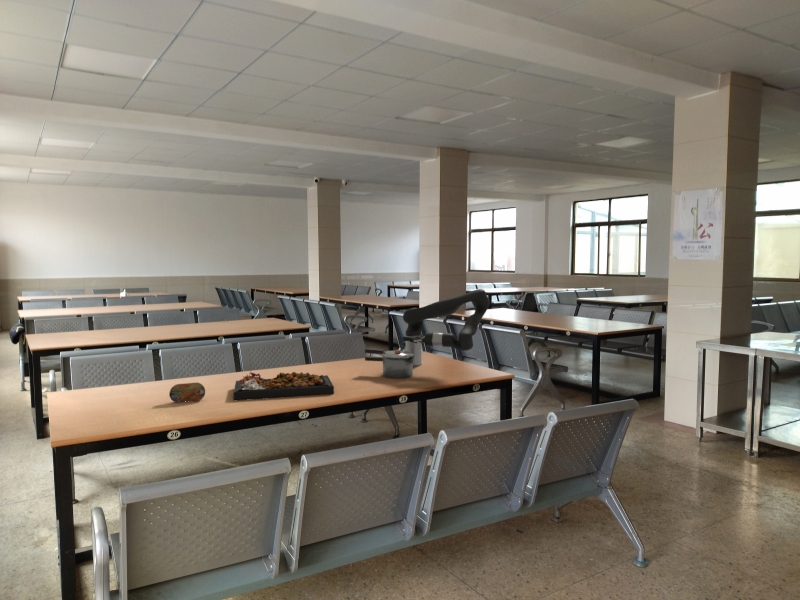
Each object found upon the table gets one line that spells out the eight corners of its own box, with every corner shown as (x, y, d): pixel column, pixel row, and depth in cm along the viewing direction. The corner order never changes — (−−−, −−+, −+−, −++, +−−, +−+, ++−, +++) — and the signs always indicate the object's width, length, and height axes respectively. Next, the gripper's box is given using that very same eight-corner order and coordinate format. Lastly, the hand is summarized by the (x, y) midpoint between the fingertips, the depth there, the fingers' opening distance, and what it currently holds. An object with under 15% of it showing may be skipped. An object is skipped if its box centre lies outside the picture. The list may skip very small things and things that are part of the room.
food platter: (233, 402, 258) (233, 379, 258) (236, 389, 282) (235, 368, 281) (333, 395, 269) (333, 373, 268) (328, 384, 293) (327, 363, 292)
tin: (169, 403, 254) (168, 385, 253) (170, 402, 257) (169, 383, 257) (205, 401, 258) (204, 382, 258) (205, 399, 261) (205, 381, 261)
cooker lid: (418, 355, 313) (418, 349, 313) (409, 360, 298) (409, 354, 297) (371, 351, 321) (371, 345, 321) (360, 356, 305) (360, 350, 305)
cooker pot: (417, 373, 314) (417, 355, 313) (409, 379, 299) (409, 360, 298) (371, 370, 322) (370, 353, 321) (361, 376, 306) (360, 358, 306)
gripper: (437, 330, 307) (406, 330, 312) (431, 334, 295) (399, 333, 300) (437, 344, 308) (406, 343, 313) (431, 348, 295) (399, 347, 300)
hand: (403, 338), depth 306 cm, fingers closed
